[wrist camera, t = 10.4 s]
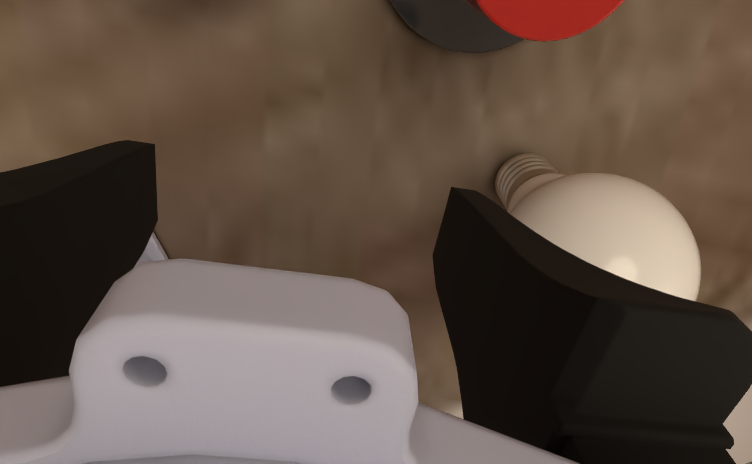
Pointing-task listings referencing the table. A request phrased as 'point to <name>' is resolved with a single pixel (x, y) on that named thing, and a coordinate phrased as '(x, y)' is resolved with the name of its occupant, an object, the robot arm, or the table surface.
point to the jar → (544, 16)
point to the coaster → (453, 25)
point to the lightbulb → (604, 222)
